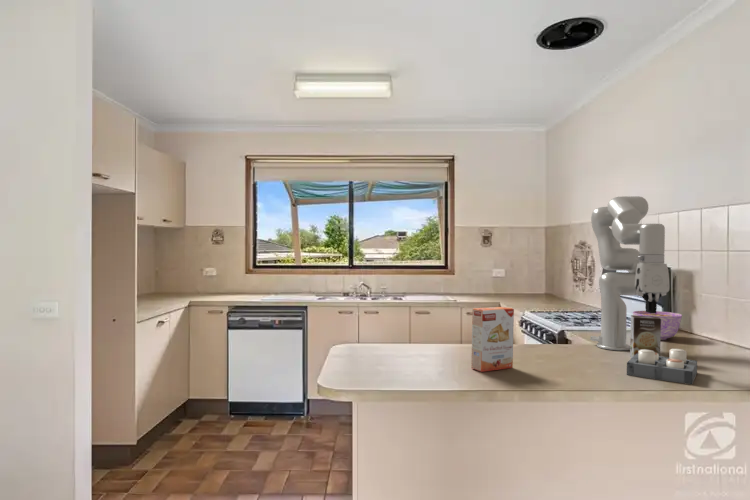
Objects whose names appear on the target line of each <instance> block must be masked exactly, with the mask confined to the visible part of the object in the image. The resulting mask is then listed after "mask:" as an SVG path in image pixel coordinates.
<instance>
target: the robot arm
mask: <svg viewBox="0 0 750 500" xmlns="http://www.w3.org/2000/svg"><path fill="white" fill-rule="evenodd" d="M648 212H649V203H648V201H647V200H646V198H644V196H630V195H628V196H623V195H622V196H615V197H613V198H611V199H610V200H609V202H608V204H607V206H601V207H597V208H595V209H594V210H593V211H592V212H591V217H590V221H591V222H590V223H591V227H592V228H591V229H592V230H593V232H594V235H595V238H596V240H597V246H598V255H599V263H600V266H601V267H602V269H603V270H607V271H610V272H605V273H602V274H601V275H600V276H599V279H598V287H599V292H600V301H601V302H600V308H601V310H600V317H601V318H600V335H598V336H596V335H590V337H589V340H590V341H591V342H592V341H593V342H597V343H596V347H598V348H600V349H602V350H611V351H630V344H627V312H628V311H627V305H626V302H625V301H624V300H623V299H622V297H621V296H640V297H641V298H642V299H643V301H644V302H645V311H646V312H648V313H656V311H658V310H657V309H658V307H657V305H658V304H657V303H658V302H659V299H660V298H661V297H664V296H667V293H668V292H669V291H670V273H669V269H668V264H667V263H665V251H666V250H665V242H666V241H665V239H666V235H665V234H666V229H665V225H663V224H662V223H640V222H641V220H643V219H644V218H645V217H646V216H647V214H648ZM610 227H611V228H610ZM621 244H622V245H627V246H628V245H629V246H630V245H635V246H636V245H638V246H639V250H638V249H637V248H632V247H622V246H621ZM616 271H617V272H616ZM624 271H626V272H624Z"/></svg>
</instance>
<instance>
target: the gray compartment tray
mask: <svg viewBox="0 0 750 500" xmlns="http://www.w3.org/2000/svg"><path fill="white" fill-rule="evenodd" d="M667 359H669V357H667V356H662V355H660V356H659V361H657V360H655V365H650V364H642V363H638V354H636V355H635V356H634V357H632V358H631V357H630V359H628V361H627V362H626V376H630V377H631V376H632V377H638V378H645V379H651V380H657V381H658V380H660V381H665V382H673V383H680V384H685V383H686V384H687V385H693V383H694V381H695V378H696V376H697V373H698V360H694V359H693V360H692V359H686V364H684V369H680V368H673V367H666V360H667Z"/></svg>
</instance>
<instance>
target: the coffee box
mask: <svg viewBox="0 0 750 500" xmlns="http://www.w3.org/2000/svg"><path fill="white" fill-rule="evenodd" d="M661 341H662V340H661V319H660V318H659V317H651V316H635V315H633V314H631V315H630V344H629V346H630V350H629V357H630V359H631V358H632V357H634V356H635V355H636V354H638V351H639V350H641V349H646V350H652V351H654V352H656V353H658V354H659V356H661Z"/></svg>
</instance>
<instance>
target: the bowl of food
mask: <svg viewBox="0 0 750 500" xmlns="http://www.w3.org/2000/svg"><path fill="white" fill-rule="evenodd" d="M632 315H635V316H651V317H659V318H660V319H661V340H660V341H664V340H665V341H666V340H668V339H669V338H672V337H674V336H675V335H677V334H678V331H679V329H680V325H681V323H682V322H681V320H682V317H683V314H681V313H678V312H670V311H661V310H660V311H659V310H656V313H648V312H646V310H636V311H632Z"/></svg>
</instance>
